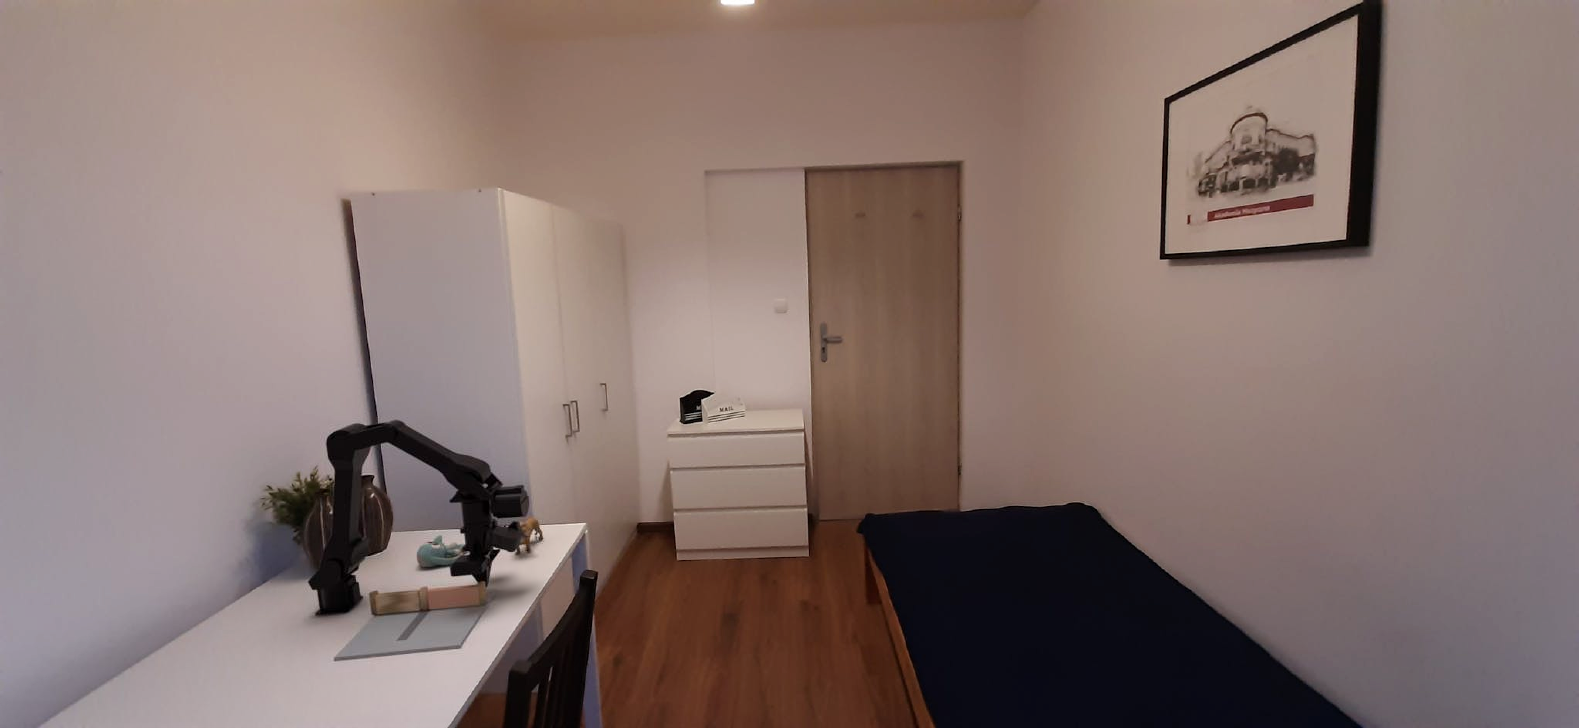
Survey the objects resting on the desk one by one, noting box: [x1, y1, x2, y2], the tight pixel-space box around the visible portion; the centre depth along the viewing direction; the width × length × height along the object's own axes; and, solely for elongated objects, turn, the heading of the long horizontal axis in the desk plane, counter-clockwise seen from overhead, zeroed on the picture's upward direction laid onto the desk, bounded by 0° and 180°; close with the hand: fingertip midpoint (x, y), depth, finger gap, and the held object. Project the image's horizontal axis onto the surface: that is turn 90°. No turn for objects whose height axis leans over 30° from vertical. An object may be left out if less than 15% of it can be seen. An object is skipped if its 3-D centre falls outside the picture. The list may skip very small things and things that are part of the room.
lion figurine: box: [514, 517, 544, 556], centre depth 162 cm, size 15×5×9 cm, turn 9°
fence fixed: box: [368, 589, 422, 616], centre depth 131 cm, size 10×2×4 cm, turn 97°
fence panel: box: [419, 581, 487, 610], centre depth 133 cm, size 13×2×4 cm, turn 97°
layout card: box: [333, 592, 496, 661], centre depth 128 cm, size 22×20×1 cm
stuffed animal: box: [416, 534, 465, 568], centre depth 157 cm, size 11×7×12 cm
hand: (484, 587), depth 139 cm, fingers closed
